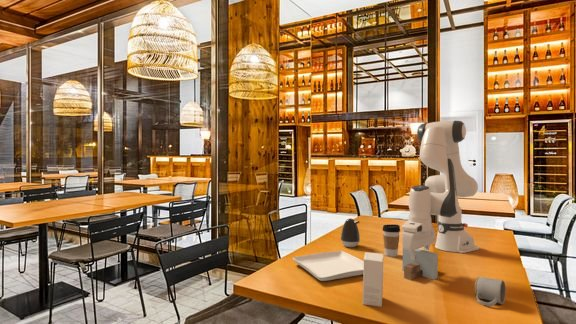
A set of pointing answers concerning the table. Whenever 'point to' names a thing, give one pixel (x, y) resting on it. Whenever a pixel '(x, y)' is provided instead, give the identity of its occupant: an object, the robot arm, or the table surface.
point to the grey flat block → (423, 262)
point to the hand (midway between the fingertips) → (419, 257)
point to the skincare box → (373, 279)
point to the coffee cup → (391, 239)
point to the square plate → (331, 265)
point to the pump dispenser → (350, 233)
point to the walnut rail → (412, 271)
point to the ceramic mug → (490, 290)
